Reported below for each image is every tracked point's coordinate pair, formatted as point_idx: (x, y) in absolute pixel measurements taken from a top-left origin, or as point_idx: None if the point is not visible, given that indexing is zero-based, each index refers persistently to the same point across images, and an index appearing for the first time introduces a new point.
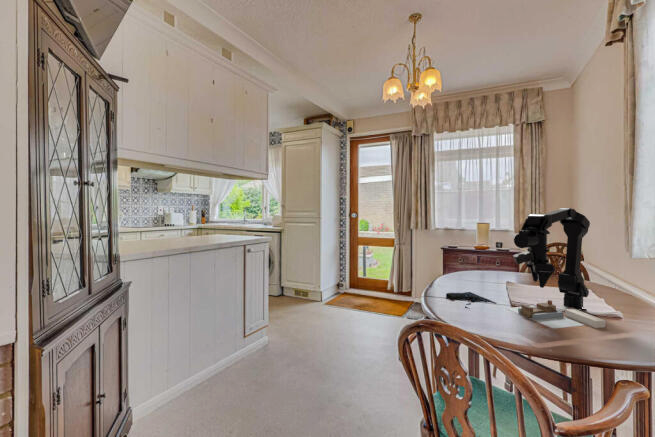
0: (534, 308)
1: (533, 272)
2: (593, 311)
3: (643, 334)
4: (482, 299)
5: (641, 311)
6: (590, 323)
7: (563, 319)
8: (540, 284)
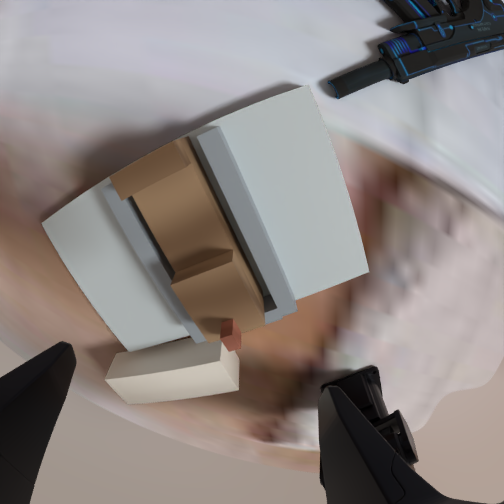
0: (199, 225)
1: (359, 478)
2: None
3: (146, 423)
4: (441, 28)
5: (317, 468)
6: (123, 366)
7: (165, 313)
8: (36, 360)
